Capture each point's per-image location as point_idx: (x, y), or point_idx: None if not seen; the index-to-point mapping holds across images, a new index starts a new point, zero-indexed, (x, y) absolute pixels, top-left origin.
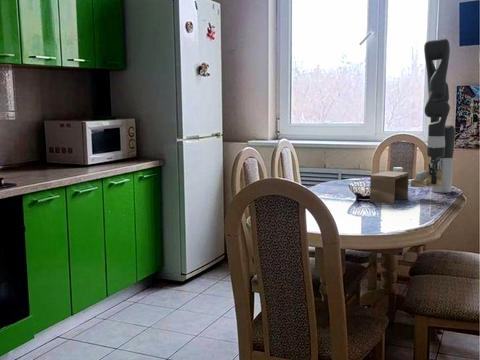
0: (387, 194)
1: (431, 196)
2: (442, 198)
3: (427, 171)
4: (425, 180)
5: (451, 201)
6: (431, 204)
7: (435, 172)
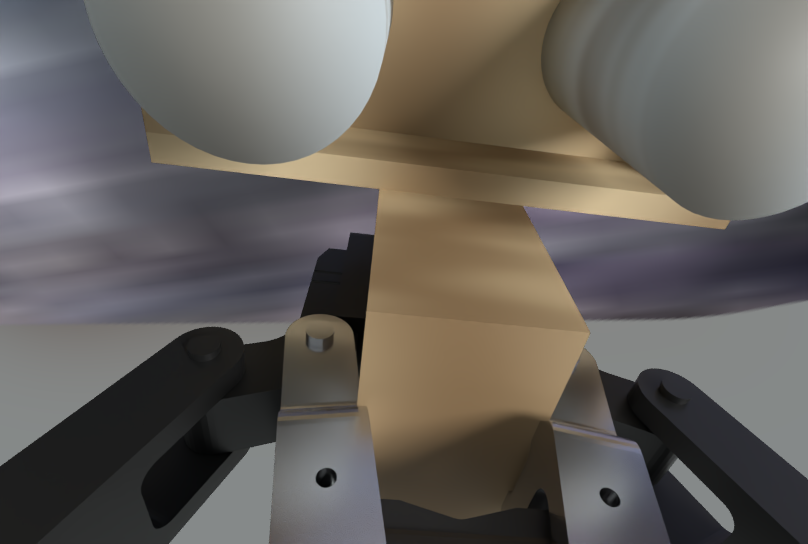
0: None
1: None
2: None
3: (719, 217)
4: (242, 171)
5: None
6: (112, 191)
7: (215, 476)
